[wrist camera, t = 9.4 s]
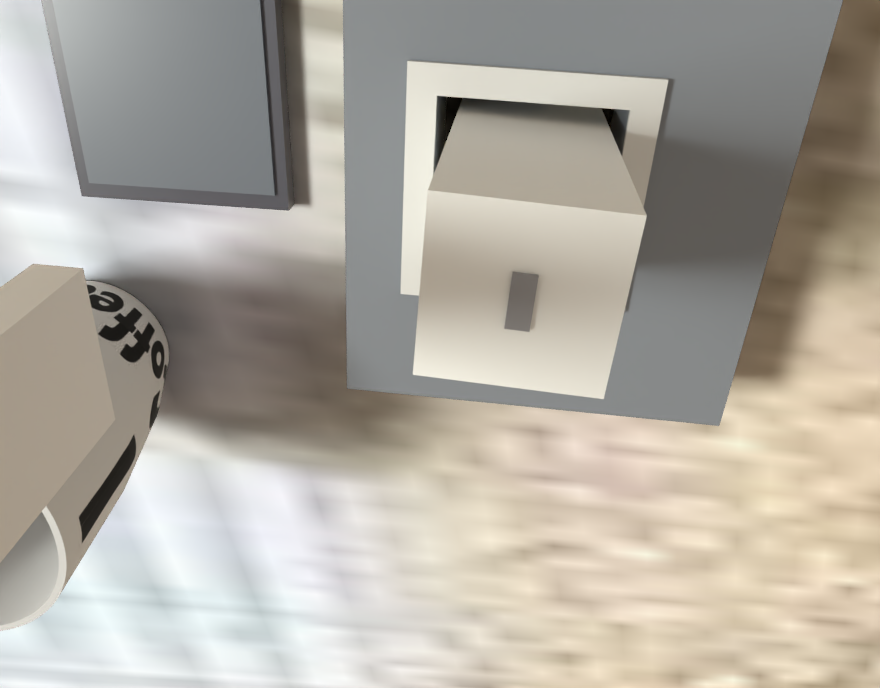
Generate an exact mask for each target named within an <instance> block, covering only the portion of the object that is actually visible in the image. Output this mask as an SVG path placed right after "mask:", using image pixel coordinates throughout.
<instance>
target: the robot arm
mask: <svg viewBox="0 0 880 688" xmlns="http://www.w3.org/2000/svg"><path fill="white" fill-rule="evenodd" d="M114 421H115V415H114V411H113V406H112V401H111V397H110V392H109V387H108V383H107V378H106V373H105V369H104V364H103V359H102V355H101V350H100V345H99V340H98V336H97V331H96V326H95V322H94V317H93V312H92V308H91V303H90V298H89V294H88V289H87V284H86V280H85V275H84V270H83V268H73V267H62V266H51V265H40V264H32V265H31V266H29V267H28V268H27V269H25V270H24V271H22V272H21V273H20V274H18V275H17V276H16V277H14V278H13V279H11V280H10V281H9V282H7V283H6V284H4V285H3V286H2V287H0V563H1V561H2V560H3V559H4V558H5V557H6V555H7V554H8V553H9V552H10V550H11V549H12V548H13V547H14V545H15V544H16V543H17V542H18V540H19V539H20V538H21V537H22V535H23V534H24V533H25V532H26V530H27V529H28V528H29V527H30V525H31V524H32V523H33V522H34V520H35V519H36V518H37V517H38V515H39V514H40V513H41V512H42V510H43V509H44V508H45V507H46V505H47V504H48V503H49V502H50V500H51V499H52V498H53V497H54V495H55V494H56V493H57V492H58V490H59V489H60V488H61V487H62V485H63V484H64V483H65V482H66V480H67V479H68V478H69V477H70V476H71V474H72V473H73V472H74V471H75V469H76V468H77V467H78V466H79V464H80V463H81V462H82V461H83V459H84V458H85V457H86V456H87V454H88V453H89V452H90V451H91V449H92V448H93V447H94V446H95V444H96V443H97V442H98V441H99V439H100V438H101V437H102V436H103V434H104V433H105V432H106V431H107V429H108V428H109V427H110V426H111V424H112V423H113V422H114Z"/></svg>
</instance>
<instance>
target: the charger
mask: <svg viewBox="0 0 880 688" xmlns="http://www.w3.org/2000/svg"><path fill="white" fill-rule="evenodd" d="M646 218H647V215H646V212H645V210H644V208H643V205H642V203H641V201H640V198H639V196H638V194H637V191H636V189H635V186H634V184H633V182H632V179H631V177H630V175H629V172H628V170H627V168H626V165H625V163H624V160H623V158H622V156H621V153H620V151H619V149H618V146H617V144H616V142H615V139H614V137H613V134H612V132H611V130H610V127H609V125H608V123H607V120H606V118H605V116H604V113H603V111H602V109H601V108H595V107H581V106H568V105H554V104H541V103H528V102H514V101H501V100H488V99H474V98H463V99H462V101H461V104H460V107H459V109H458V112H457V114H456V117H455V120H454V122H453V125H452V128H451V130H450V133H449V136H448V138H447V141H446V143H445V146H444V149H443V151H442V154H441V157H440V159H439V162H438V164H437V167H436V170H435V172H434V175H433V178H432V180H431V183H430V186H429V188H428V193H427V206H426V218H425V230H424V243H423V255H422V267H421V279H420V292H419V304H418V316H417V328H416V341H415V353H414V365H413V375H419V376H427V377H435V378H442V379H450V380H458V381H466V382H473V383H481V384H489V385H497V386H505V387H512V388H520V389H528V390H536V391H543V392H551V393H559V394H567V395H574V396H582V397H590V398H598V399H604V395H605V391H606V387H607V383H608V378H609V374H610V370H611V366H612V362H613V357H614V353H615V349H616V345H617V340H618V336H619V332H620V328H621V323H622V319H623V315H624V311H625V306H626V302H627V298H628V294H629V290H630V285H631V281H632V277H633V273H634V268H635V264H636V260H637V256H638V251H639V247H640V243H641V239H642V234H643V230H644V226H645V222H646Z"/></svg>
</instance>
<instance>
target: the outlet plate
mask: <svg viewBox="0 0 880 688" xmlns="http://www.w3.org/2000/svg"><path fill="white" fill-rule="evenodd" d="M842 2H843V0H343V50H344V146H345V242H346V339H347V389H357V390H367V391H377V392H387V393H397V394H407V395H417V396H427V397H437V398H447V399H457V400H467V401H477V402H487V403H497V404H507V405H516V406H526V407H536V408H546V409H556V410H566V411H576V412H586V413H596V414H606V415H616V416H626V417H636V418H646V419H656V420H666V421H676V422H686V423H696V424H706V425H716V426H719V425H720V421H721V418H722V415H723V411H724V408H725V404H726V401H727V397H728V394H729V390H730V387H731V384H732V380H733V377H734V373H735V370H736V366H737V363H738V360H739V356H740V353H741V349H742V346H743V342H744V339H745V336H746V332H747V329H748V325H749V322H750V318H751V315H752V311H753V308H754V305H755V301H756V298H757V294H758V291H759V287H760V284H761V281H762V277H763V274H764V270H765V267H766V263H767V260H768V256H769V253H770V250H771V246H772V243H773V239H774V236H775V232H776V229H777V226H778V222H779V219H780V215H781V212H782V208H783V205H784V202H785V198H786V195H787V191H788V188H789V184H790V181H791V177H792V174H793V171H794V167H795V164H796V160H797V157H798V153H799V150H800V147H801V143H802V140H803V136H804V133H805V129H806V126H807V123H808V119H809V116H810V112H811V109H812V105H813V102H814V98H815V95H816V92H817V88H818V85H819V81H820V78H821V74H822V71H823V68H824V64H825V61H826V57H827V54H828V50H829V47H830V43H831V40H832V37H833V33H834V30H835V26H836V23H837V19H838V16H839V13H840V9H841V6H842ZM447 96H448V97H461V98H474V99H488V100H501V101H514V102H528V103H541V104H554V105H568V106H581V107H595V108H608V109H613V116H612V122H611V128H610V130H611V132H612V134H613V137H614V139H615V142H616V144H617V146H618V149H619V151H620V153H621V156H622V158H623V160H624V163H625V165H626V168H627V170H628V172H629V175H630V177H631V179H632V182H633V184H634V186H635V189H636V191H637V194H638V196H639V198H640V201H641V203H642V205H643V208H644V210H645V212H646V215H647V218H646V222H645V226H644V230H643V234H642V239H641V243H640V247H639V251H638V256H637V260H636V264H635V268H634V273H633V277H632V281H631V285H630V290H629V294H628V298H627V302H626V306H625V311H624V315H623V319H622V323H621V328H620V332H619V336H618V340H617V345H616V349H615V353H614V357H613V362H612V366H611V370H610V374H609V378H608V383H607V387H606V391H605V395H604V399H598V398H590V397H582V396H574V395H567V394H559V393H551V392H543V391H536V390H528V389H520V388H512V387H505V386H497V385H489V384H481V383H473V382H466V381H458V380H450V379H442V378H435V377H427V376H419V375H413V365H414V353H415V341H416V328H417V316H418V304H419V292H420V279H421V267H422V255H423V243H424V230H425V218H426V206H427V193H428V188H429V186H430V183H431V180H432V178H433V175H434V172H435V170H436V167H437V164H438V162H439V159H440V157H441V154H442V151H443V149H444V138H445V120H446V102H447Z"/></svg>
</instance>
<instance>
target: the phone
mask: <svg viewBox="0 0 880 688" xmlns="http://www.w3.org/2000/svg"><path fill="white" fill-rule="evenodd" d="M41 2H42V6H43V11H44V16H45V21H46V26H47V31H48V35H49V40H50V45H51V50H52V55H53V59H54V64H55V69H56V74H57V79H58V83H59V88H60V93H61V98H62V103H63V107H64V112H65V117H66V122H67V127H68V131H69V136H70V141H71V146H72V151H73V156H74V160H75V165H76V170H77V175H78V180H79V184H80V189H81V194H82V196H87V197H102V198H116V199H130V200H145V201H159V202H174V203H188V204H202V205H217V206H231V207H246V208H260V209H274V210H290V209H291V207H292V206H293V205H294V191H293V175H292V159H291V144H290V128H289V112H288V96H287V80H286V64H285V48H284V32H283V17H282V1H281V0H41Z"/></svg>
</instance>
